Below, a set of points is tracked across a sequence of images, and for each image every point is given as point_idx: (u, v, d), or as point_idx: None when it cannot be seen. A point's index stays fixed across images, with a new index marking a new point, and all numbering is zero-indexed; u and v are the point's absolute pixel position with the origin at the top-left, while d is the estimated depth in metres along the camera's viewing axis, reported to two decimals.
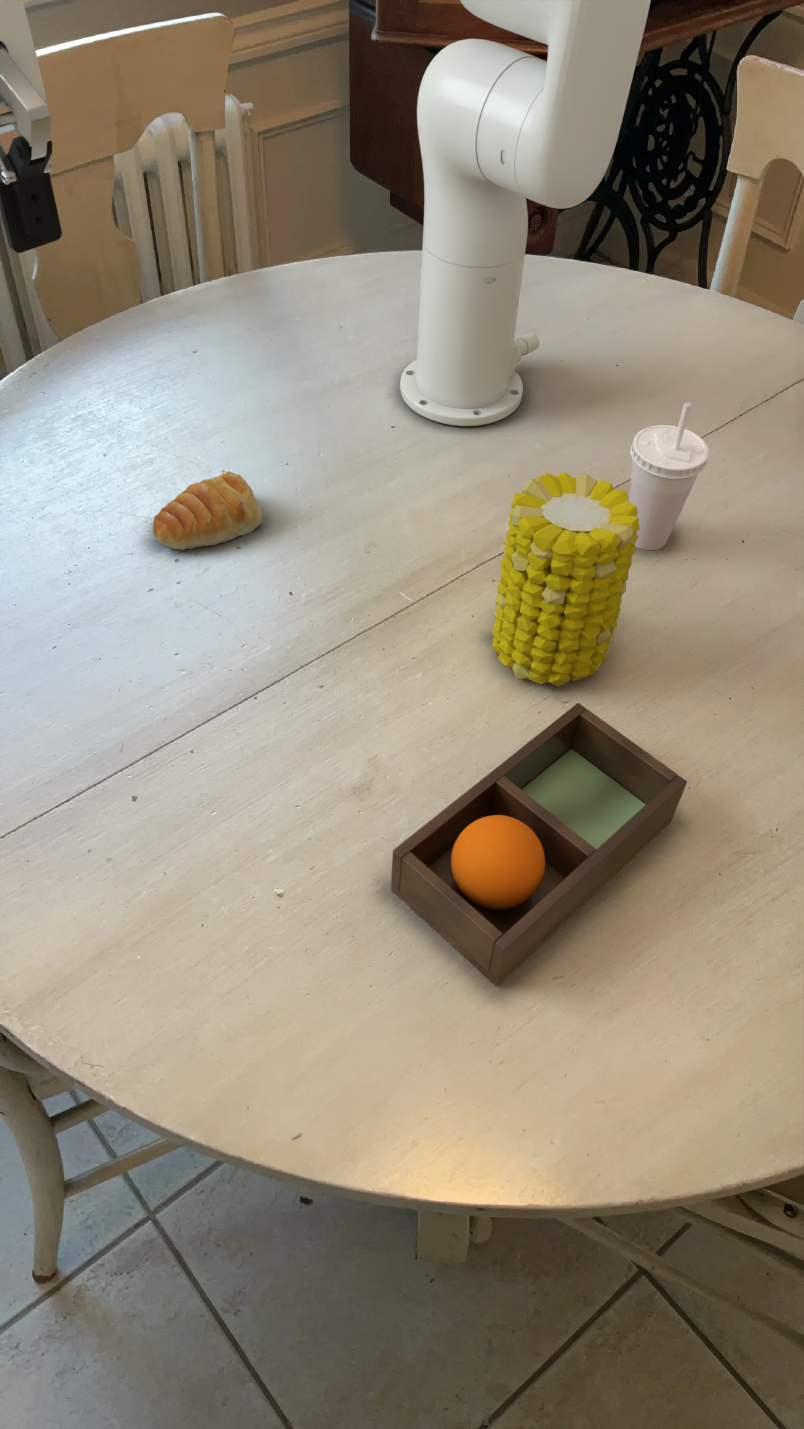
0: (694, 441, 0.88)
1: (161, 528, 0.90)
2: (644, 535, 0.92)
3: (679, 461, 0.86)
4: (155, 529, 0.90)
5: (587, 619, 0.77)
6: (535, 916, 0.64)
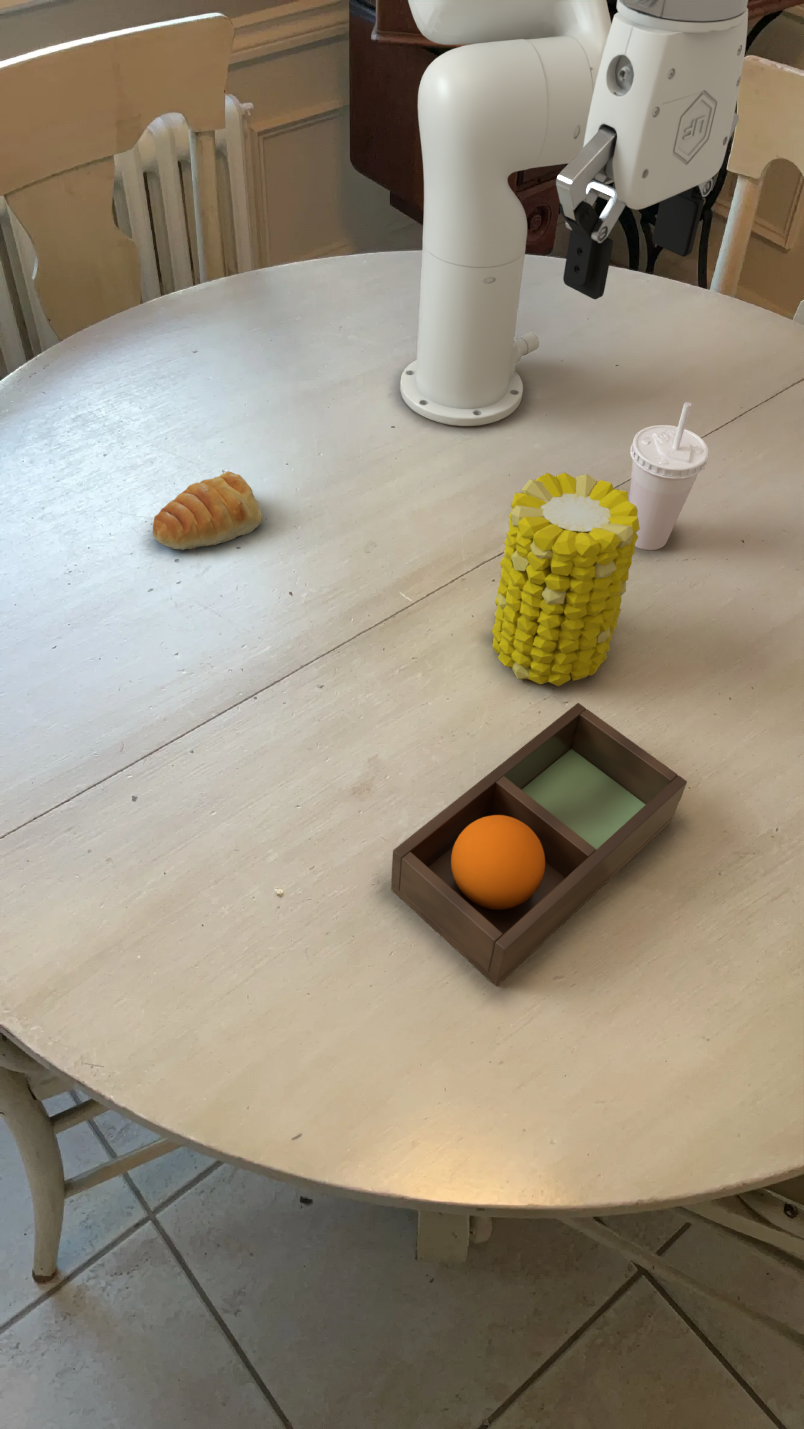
0: (694, 441, 0.88)
1: (161, 528, 0.90)
2: (644, 535, 0.92)
3: (679, 461, 0.86)
4: (155, 529, 0.90)
5: (587, 619, 0.77)
6: (535, 916, 0.64)
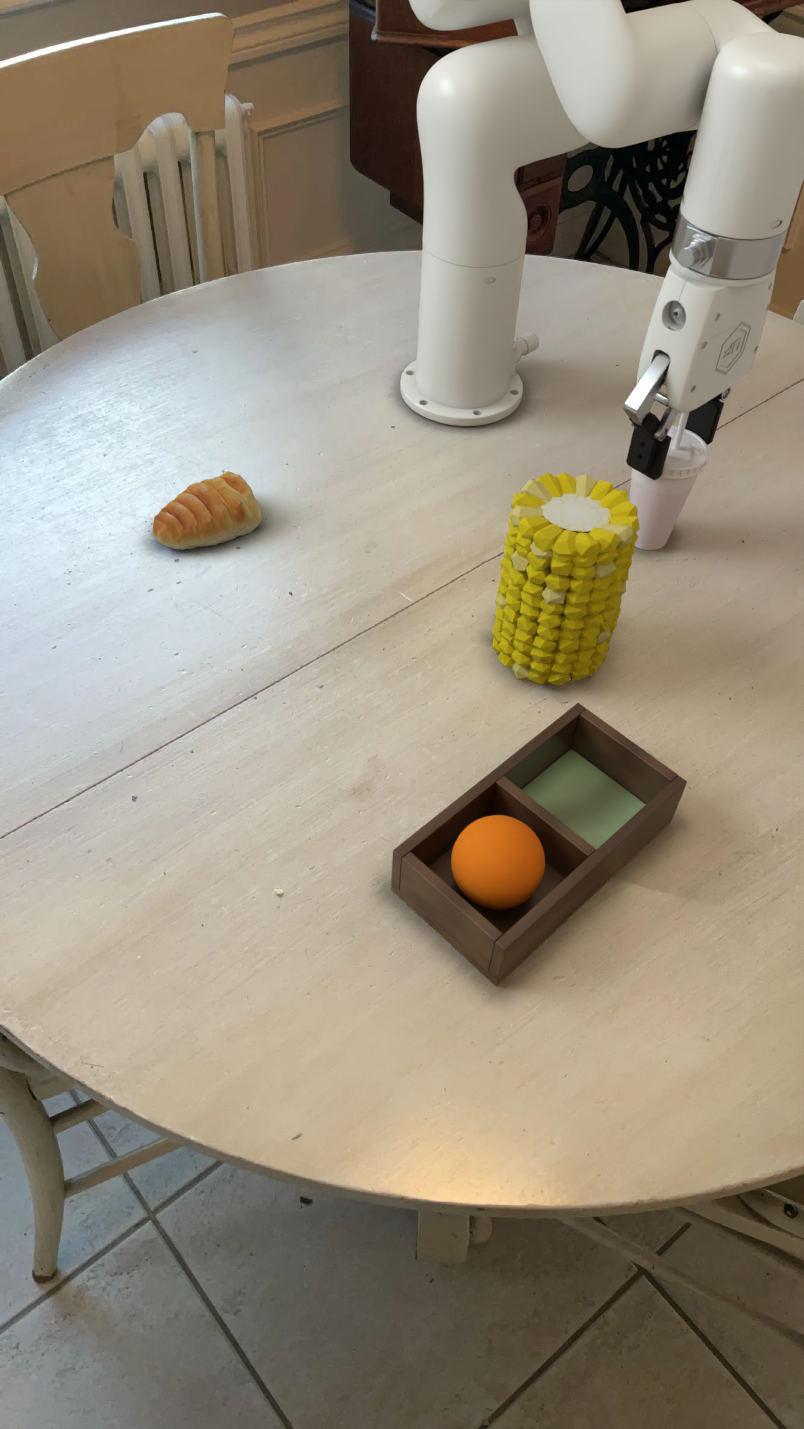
0: (694, 441, 0.88)
1: (161, 528, 0.90)
2: (644, 535, 0.92)
3: (679, 461, 0.86)
4: (155, 529, 0.90)
5: (587, 619, 0.77)
6: (535, 916, 0.64)
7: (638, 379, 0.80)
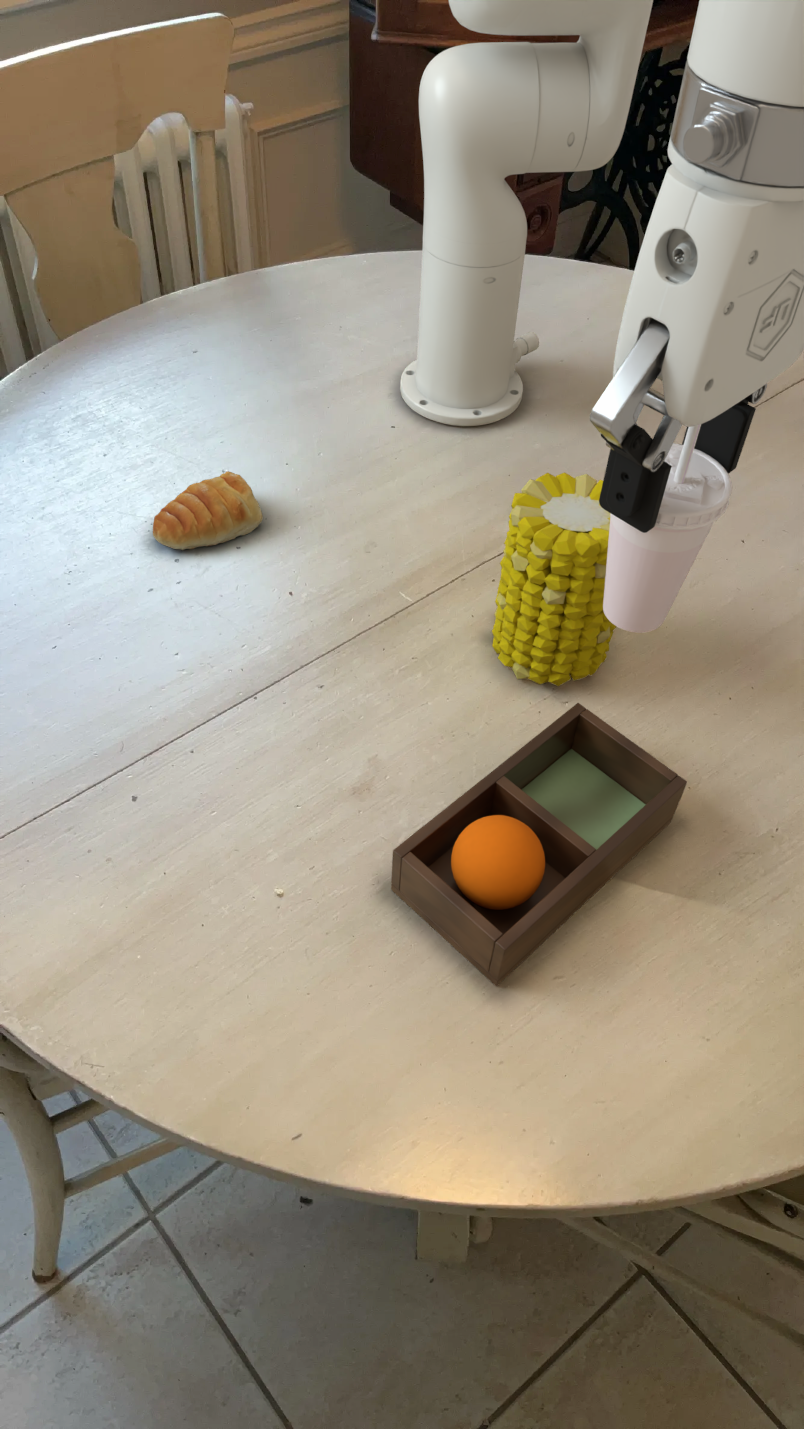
0: (708, 468, 0.56)
1: (161, 528, 0.90)
2: (630, 611, 0.60)
3: (685, 501, 0.54)
4: (155, 529, 0.90)
5: (587, 619, 0.77)
6: (535, 916, 0.64)
7: (615, 369, 0.48)
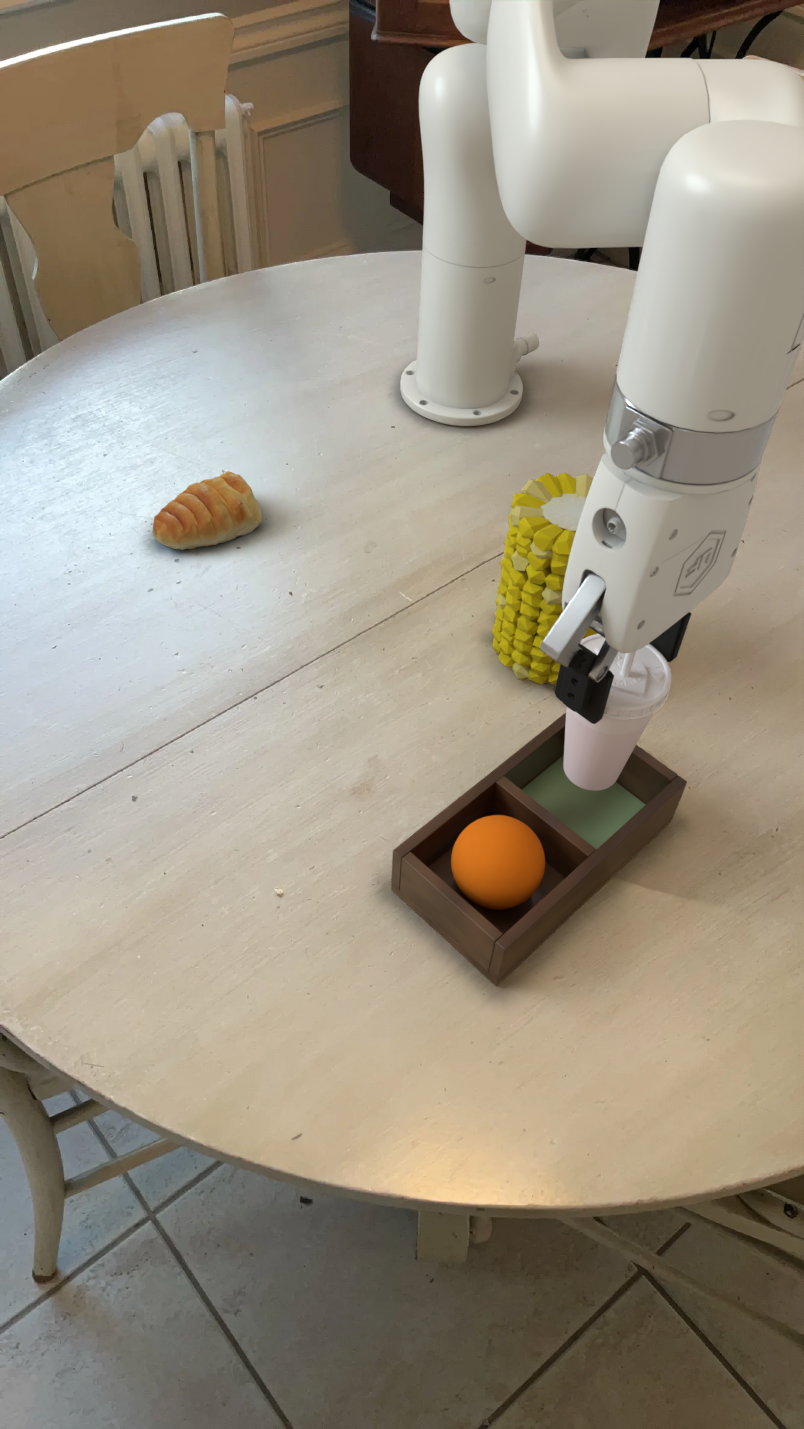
0: (652, 660, 0.63)
1: (161, 528, 0.90)
2: (586, 775, 0.67)
3: (629, 695, 0.61)
4: (155, 529, 0.90)
5: None
6: (535, 916, 0.64)
7: (563, 602, 0.55)
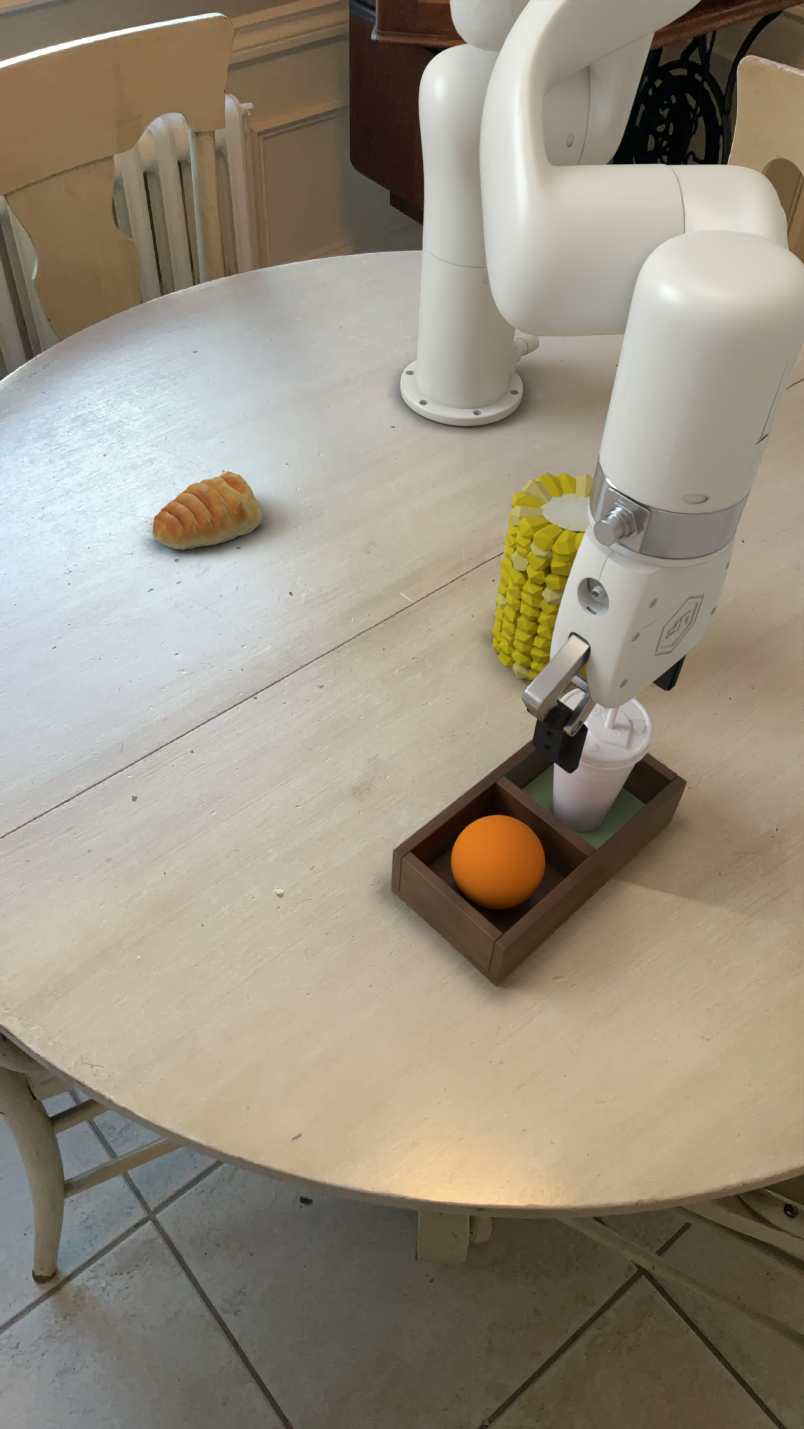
0: (635, 712, 0.67)
1: (161, 528, 0.90)
2: (573, 818, 0.71)
3: (613, 747, 0.65)
4: (155, 529, 0.90)
5: None
6: (535, 916, 0.64)
7: None
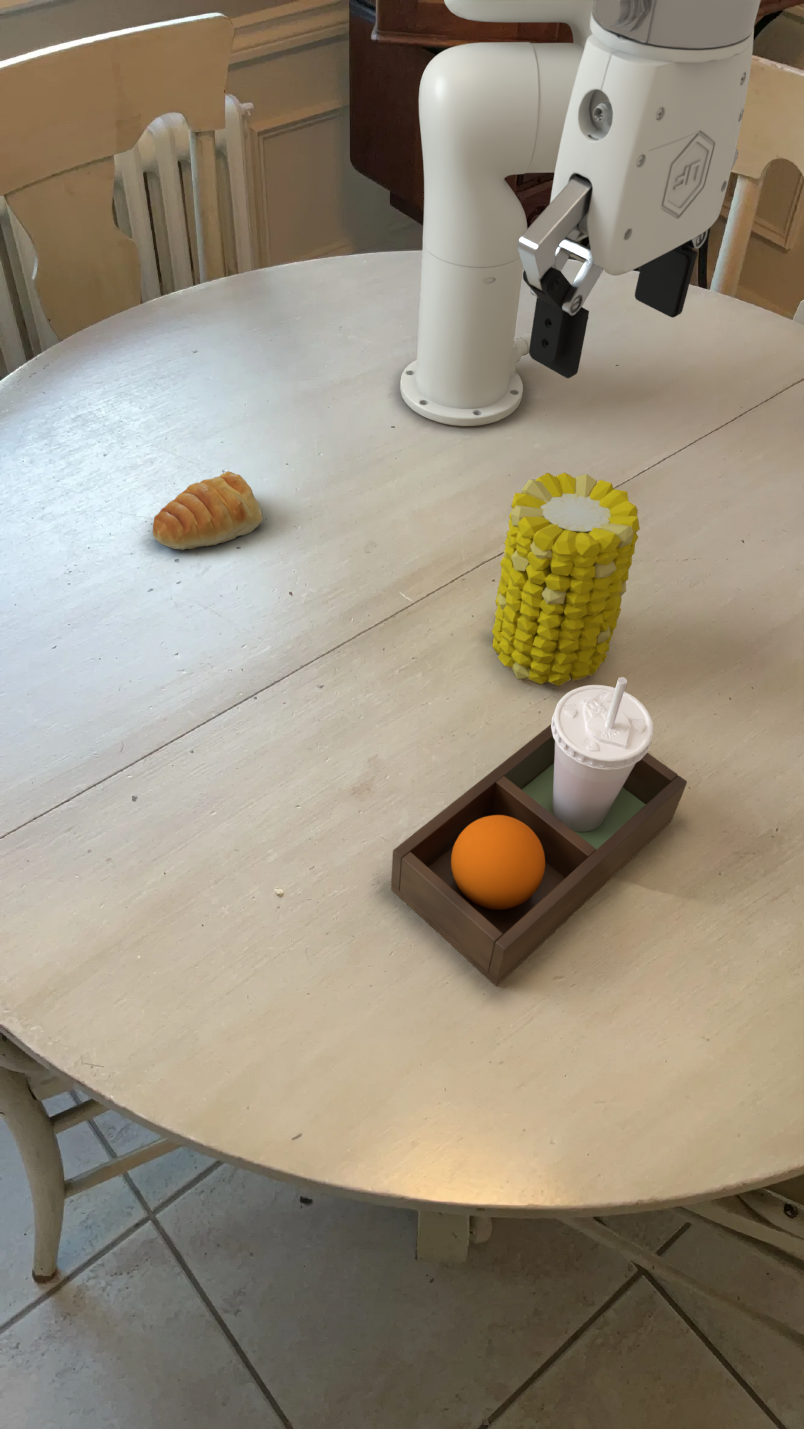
0: (635, 712, 0.67)
1: (161, 528, 0.90)
2: (573, 818, 0.71)
3: (613, 746, 0.65)
4: (155, 529, 0.90)
5: (587, 619, 0.77)
6: (535, 916, 0.64)
7: None
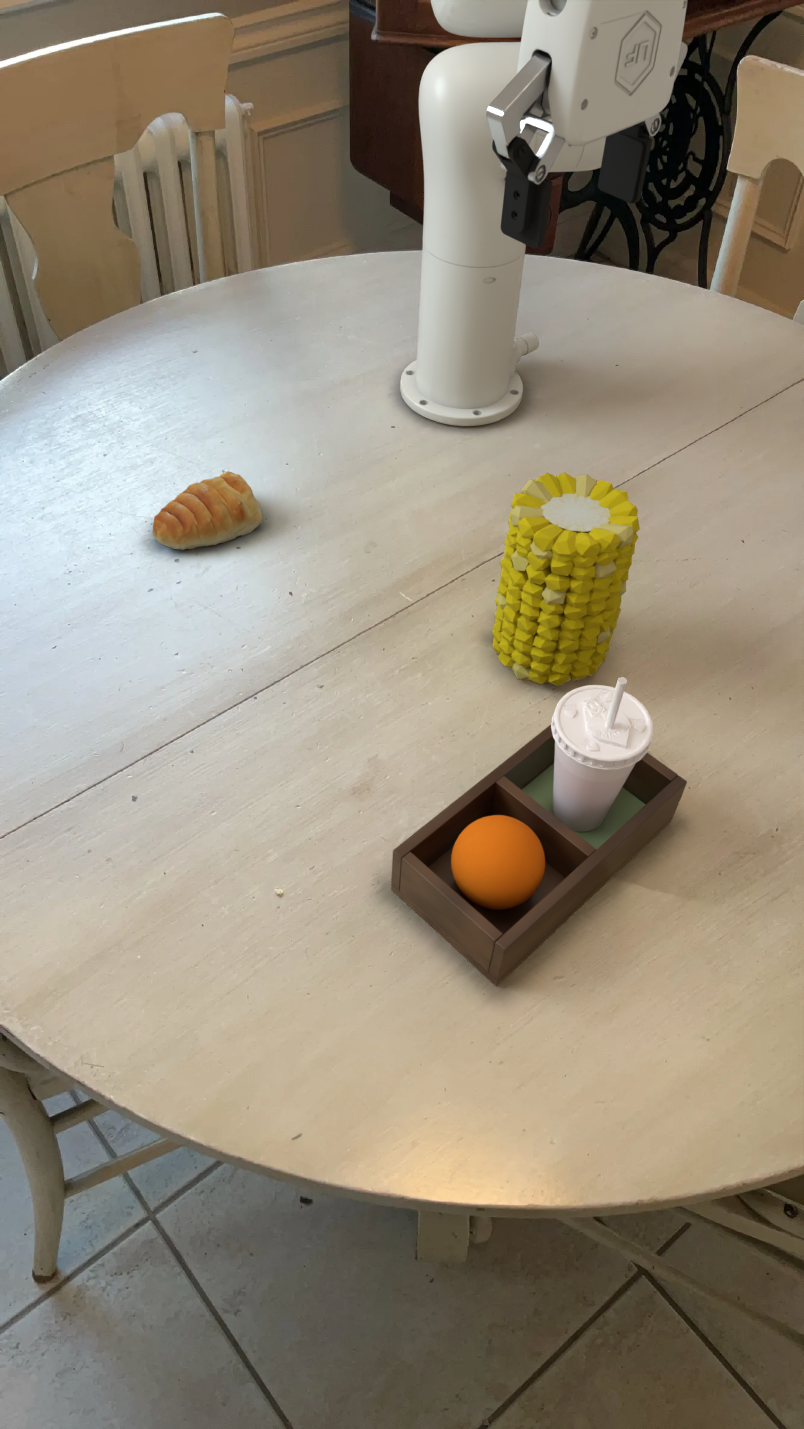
0: (635, 712, 0.67)
1: (161, 528, 0.90)
2: (573, 818, 0.71)
3: (613, 746, 0.65)
4: (155, 529, 0.90)
5: (587, 619, 0.77)
6: (535, 916, 0.64)
7: None
